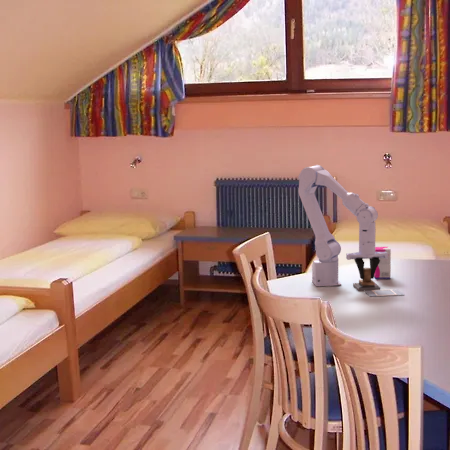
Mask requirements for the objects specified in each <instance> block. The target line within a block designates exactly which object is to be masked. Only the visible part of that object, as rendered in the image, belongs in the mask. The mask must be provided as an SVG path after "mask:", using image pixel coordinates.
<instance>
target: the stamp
mask: <svg viewBox="0 0 450 450" xmlns="http://www.w3.org/2000/svg"><path fill="white" fill-rule="evenodd" d="M358 283H359V284H360V285H361V286H362V287H368V286H375V283H376V282H375V281H374V280H373V279H371V268H370V267H364V279H359V280H358Z"/></svg>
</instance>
